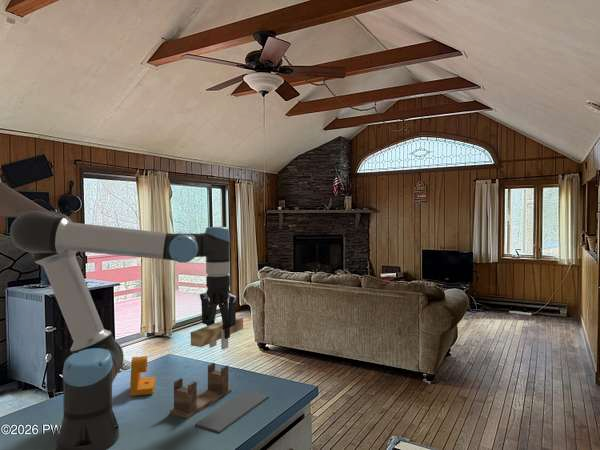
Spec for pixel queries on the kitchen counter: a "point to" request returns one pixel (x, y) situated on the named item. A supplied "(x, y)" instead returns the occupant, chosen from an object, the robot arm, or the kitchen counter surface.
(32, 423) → the kitchen counter surface
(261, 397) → the mat
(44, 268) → the robot arm
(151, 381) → the orange hinge mount
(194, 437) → the kitchen counter surface
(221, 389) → the bracket
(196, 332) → the rail
